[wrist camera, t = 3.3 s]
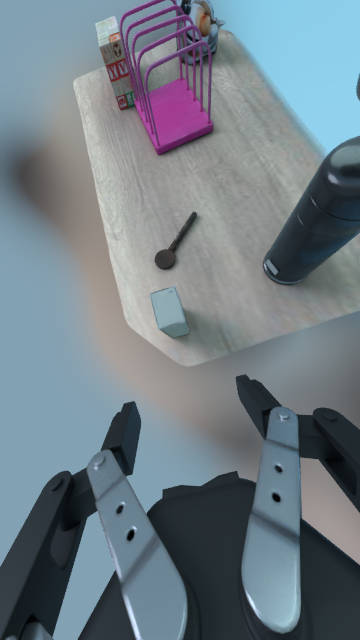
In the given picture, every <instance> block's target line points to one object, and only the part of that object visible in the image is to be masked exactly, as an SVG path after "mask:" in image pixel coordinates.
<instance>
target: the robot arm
mask: <svg viewBox="0 0 360 640" xmlns="http://www.w3.org/2000/svg"><path fill="white" fill-rule="evenodd" d="M356 93H357V96H358V99H359V100H360V74H359V77H358V82H357V86H356ZM359 233H360V136H357V137H355V138H352V139H349V140H347V141H345V142H343V143H341V144H340V145H338V146H337V147H336V148H334V149H333V150H332V151H331V152H330V153H329V154H328V155H327V157H326V158H325V159H324V161H323V162H322V164H321V165H320V167H319V168H318V170H317V172H316V173H315V175H314V177H313V179H312V180H311V182H310V183H309V185H308V187H307V188H306V190H305V192H304V193H303V195H302V197H301V198H300V200H299V202H298V204H297V205H296V207H295V209H294V210H293V212H292V214H291V215H290V217H289V219H288V220H287V222H286V224H285V225H284V227H283V229H282V230H281V232H280V234H279V235H278V237H277V239H276V240H275V242H274V244H273V245H272V247H271V249H270V250H269V252H268V253H267V254H266V256H265V258H264V261H263V268H264V271H265V273H266V275H267V276H268V277H269V278H270V279H271V280H273V281H275V282H277V283H279V284H284V285H291V284H296V283H298V282H300V281H302V280H303V279H304V278H306V277H307V276H308V275H309V274H310V273H311V272H312V271H314V270H315V269H316V268H317V267H318V266H320V265H321V264H322V263H323V262H325V261H326V260H327V259H328V258H329V257H331V256H332V255H333V254H334V253H336V252H337V251H338V250H339V249H340V248H342V247H343V246H344V245H345V244H347V243H348V242H349V241H350V240H351V239H353V238H354V237H355V236H356V235H358V234H359ZM236 382H237V390H238V395H239V398H240V401H241V403H242V404H243V406H244V407H245V409H246V411H247V412H248V414H249V416H250V417H251V419H252V421H253V422H254V424H255V426H256V427H257V429H258V431H259V432H260V433H261V436H262V437H263V438H264V441H263V447H262V453H261V460H260V466H259V472H258V478H257V483H255V482H253V481H250V480H247V479H243V478H239V476H238V474H237V471H235V472H230V473H227V474H223V475H219V476H217V477H215V478H214V479H212V480H211V481H209V482H207V483H206V484H204V485H202V486H187V485H179V486H176V487H172V488H168V489H164V490H163V498H162V499H160V500H159V501H158V502H156V503H155V504H154V505H153V506H152V507H151V509H150V510H149V511H148V512H147V514H146V513H145V511H144V509H143V507H142V506H141V504H140V502H139V500H138V498H137V496H136V495H135V493H134V491H133V489H132V487H131V485H130V483H129V482H128V480H127V478H126V476H128V475H132V474H133V468H134V463H135V457H136V451H137V446H138V440H139V434H140V428H141V418H140V415H139V412H138V409H137V407H136V403H135V402H134V401H133V402H129V403H125V404H124V405H123V407H122V410H121V412H118V413H117V414H116V416H115V417H114V418H113V420H112V422H111V426H110V428H109V430H108V433H107V435H106V438H105V440H104V443H103V446H102V448H101V451H100V452H99V453H97V454H96V455H95V456H94V457H93V458H92V459H91V460H90V462H89V464H88V466H87V468H85V469H83V470H81V471H80V472H78V473H76V474H74V475H71V473H70V472H69V471H63V472H60V473H58V474H57V475H55V476H54V477H53V478H52V479H51V480H50V481H49V482H48V483H47V484H46V486H45V487H44V488H43V490H42V492H41V494H40V496H39V497H38V499H37V501H36V503H35V505H34V507H33V508H32V510H31V512H30V514H29V516H28V518H27V519H26V521H25V523H24V525H23V527H22V529H21V530H20V532H19V534H18V536H17V538H16V540H15V541H14V543H13V545H12V547H11V549H10V551H9V552H8V554H7V556H6V558H5V560H4V561H3V563H2V565H1V567H0V640H54V639H53V638H52V636H53V633H54V630H55V626H56V623H57V619H58V616H59V613H60V609H61V606H62V602H63V599H64V596H65V592H66V588H67V585H68V582H69V578H70V575H71V572H72V568H73V565H74V561H75V558H76V555H77V551H78V548H79V544H80V541H81V537H82V534H83V531H84V527H85V524H86V520H87V517H89V516H90V515H92V514H93V513H94V512H96V511H98V514H99V517H100V520H101V523H102V526H103V530H104V533H105V536H106V539H107V543H108V546H109V549H110V552H111V556H112V559H113V562H114V565H115V569H116V570H115V572H114V574H113V575H112V577H111V579H110V581H109V583H108V585H107V586H106V588H105V590H104V592H103V594H102V595H101V597H100V599H99V601H98V603H97V605H96V607H95V608H94V611H93V612H92V614H91V616H90V618H89V619H88V621H87V623H86V625H85V627H84V629H83V630H82V632H81V634H80V636H79V638H78V640H360V565H359V564H358V563H356V562H355V561H354V560H353V559H352V558H350V557H349V556H348V555H347V554H345V553H344V552H343V551H342V550H340V549H339V548H338V547H337V546H335V545H334V544H333V543H332V542H330V541H329V540H328V539H327V538H326V537H324V536H323V535H322V534H321V533H319V532H318V531H317V530H316V529H314V528H313V527H312V526H311V525H310V524H308V523H307V522H306V521H305V520H303V519H302V503H301V477H300V476H301V475H300V474H301V473H300V457H302V458H313V459H319V461H320V462H321V463H322V465H323V466H324V467H325V468H326V470H327V471H328V472H329V474H330V475H331V476H332V477H333V479H334V480H335V481H336V483H337V484H338V485H339V486H340V488H341V489H342V490H343V492H344V493H345V494H346V496H347V497H348V498H349V499H350V501H351V502H352V503H353V505H354V506H355V507H356V508H357V510H358V511H359V512H360V430H359V429H358V428H357V427H356V426H354V425H353V424H352V423H351V422H350V421H348V420H347V419H346V418H345V417H344V416H343V415H341V414H340V413H338V412H337V411H335V410H332V409H328V408H317V409H315V410H314V412H313V415H297V414H295V413H294V412H293V411H292V410H290V409H288V408H285V407H282V406H281V404H279V402H278V401H277V400H276V399H275V398H274V397H273V396H272V395H271V393H269V391H268V390H267V389H266V388H265V387H264V386H263V385H262V383H260V382H258V381H256V380H250V379H249V378H248V376H246V375H241V376H237V377H236Z"/></svg>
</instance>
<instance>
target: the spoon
mask: <svg viewBox="0 0 360 640" xmlns="http://www.w3.org/2000/svg"><path fill="white" fill-rule="evenodd" d="M196 215H197V213H196V212H193V213H192V214H191V216H190V217H189V219H188V220H187V222H186V223H185V225H184V226H183V228H182V229H181V231H180V232H179V234H178V235H177V237H176V238H175V240H174V241H173V243H172V244H171V246H170V247H169V249H168V250H167V249H165V250H161V251H159V252H158V253H157V254H156V256H155V263H156V265H157V266H158V267H159V268H160V269H169V268H171V267H172V266H173V265H174V263H175V255H174V251H175V250H176V246H177V244H178V243H179V241H180V240H181V238H182V237H183V235H184V234H185V232H186V231H187V229H188V228H189V226H190V225H191V223H192V222H193V220H194V219H195V217H196Z"/></svg>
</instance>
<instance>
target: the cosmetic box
mask: <svg viewBox="0 0 360 640" xmlns="http://www.w3.org/2000/svg"><path fill="white" fill-rule="evenodd" d="M150 295H151V301H152V306H153V310H154V314H155V318H156V322H157V326H158V329H159V330H161V331H162V332H164V333H165V334H166V335H168V336H169V337H171V338H174V337H178V336H182V335H186V334H189V328H188V324H187V320H186V317H185V313H184V310H183V307H182V304H181V301H180V298H179V295H178V292H177V289H176V287H175V286H173V287H170V288H166V289H163V290H159V291H156V292H153V293H151V294H150Z"/></svg>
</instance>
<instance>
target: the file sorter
mask: <svg viewBox="0 0 360 640" xmlns="http://www.w3.org/2000/svg"><path fill="white" fill-rule="evenodd" d="M162 1H165V0H152V1H149V2H147V3H145V4H142V5H140V6H138V7H136V8H133V9H131V10H129V11H127V12H125V13H124V14H123V15H122V17H121V20H120V35H121V40H122V44H123V48H124V53H125V57H126V61H127V65H128V69H129V73H130V77H131V81H132V85H133V89H134V93H135V97H136V99H135V100H134V103H135V107H136V109H137V111H138V113H139V115H140V117H141V120H142V122H143V124H144V126H145V128H146V130H147V132H148V135H149V137H150V139H151V141H152V143H153V145H154V147H155V150H156V152H157V154H158V155H159V154H162V153H164V152H166V151H168V150H170V149H173V148H175V147H177V146H179V145H182V144H184V143H186V142H188V141H191V140H193V139H195V138H197V137H200V136H202V135H204V134H206V133H209V132H211V131H213V122H212V121H211V119H210V108H211V69H212V56H211V50H210V47H209V45H208V44H207V43H206V42H205V41H202V36H201V32H200V30H199V29H198V27H197V26H195V25H194V23H193V21H192V19H191V18H190V17H189V16H188V15H185V14H184V12H183V10H182V8H181V7H180V6H178V5H177V4H176V1H175V0H171V1H172V2H173V3H174V5H172V6H170V7H167V8H165V9H162V10H160V11H157V12H155V13H153V14H150V15H148V16H146V17H144V18H141V19H139V20H137V21H135V22H133V23H131V24H130V25H129V26H128V28H127V30H126V36H125V44H126V48H125V44H124V39H123V34H122V24H123V21H124V19H125V18H126V17H127V16H129V15H131V14H134V13H136V12H138V11H140V10H143V9H145V8H147V7H150V6H152V5H154V4H157V3H160V2H162ZM173 10H176V17H175V18H172V19H169V20H166V21H164V22H161V23H158V24H156V25H153V26H151V27H148V28H146V29H143V30H141V31H139V32H137V33H136V35H135V36H134V38H133V42H132V56H133V62H134V67H135V71H136V76H137V81H138V85H139V90H140V95H141V97H140V95H139V91H138V87H137V83H136V79H135V74H134V70H133V66H132V62H131V57H130V53H129V48H128V34H129V32H130V30H131V29H132V28H133V27H135V26H138V25H139V24H142V23H144V22H146V21H149V20H151V19H153V18H155V17H158V16H160V15H163V14H165V13H168V12H171V11H173ZM178 11H180V13H181V14H182V15H181V16H179V15H178ZM182 20H183V23H184V28H182V29H179V21H182ZM186 20H188V21H189V22H190V24H191V25H189V26H186ZM175 22H177V31H176V32H174V33H171V34H170V35H167V36H166V37H163V38H161V39H159V40H157V41H156V42H153V43H151V44H150V45H147V46H145V47H144V48H143V49H142V50H141V51H140V53H139V55H138V59H137V65H136V60H135V54H134V46H135V43H136V40H137V39H138V37H140V36H142V35H144V34H147V33H149V32H151V31H154V30H157V29H159V28H162V27H165V26H167V25H170V24H173V23H175ZM190 30H192V32H193V44H192V45H189V46H187V33H186V32H188V31H190ZM195 31H196V32H197V33H198V36H199V41H198V42H196V43H195ZM183 33H184V40H185V48H183V49H181V45H180V35H181V34H183ZM177 36H178V46H179V51H176V52H174V53H172V54H170V55H168V56H166V57H164V58H162V59H160V60H158V61H156V62H154V63H152V64H151V65H150V66H149V67H148V69H147V71H146V74H145V90H146V94H145V92H144V88H143V84H142V79H141V74H140V60H141V57H142V55H143V54H144V53H145V52H147V51H149V50H151V49H153V48H155V47H157V46H158V45H160V44H163V43H165V42H167V41H169V40H171V39H173V38H175V37H177ZM199 46H200V102H199V100H198V99H197V97H196V74H195V48H197V47H199ZM202 46H205V47H206V48H207V50H208V54H209V88H208V115H207V113H206V111H205V110H204V108H203V52H202ZM126 49H127V52H126ZM192 49H193V91H192V90H191V88H190V86H189V80H188V56H187V52H188V51H190V50H192ZM184 53H185V59H186V80H187V82H186V80H185V79H184V77H182V61H181V55H182V54H184ZM127 54H128V56H127ZM178 56H179V61H180V77H181V78H179V79H177V80H175V81H173V82H171V83H168V84H166V85H164V86H162V87H160V88H158V89H156V90H153V91H151V92H149V93H148V88H147V79H148V75H149V73H150V71H151V70H152V69H153V68H155V67H157V66H159V65H161V64H163V63H165V62H167V61H169V60H171V59H173V58H175V57H178ZM128 58H129V61H128ZM129 62H130V64H129ZM130 67H131V69H130ZM131 71H132V73H131ZM132 75H133V77H132ZM133 79H134V81H133ZM134 83H135V85H134ZM135 87H136V90H135ZM141 89H142V90H141ZM136 91H137V94H136ZM142 93H143V94H142ZM137 95H138V98H137Z"/></svg>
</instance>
